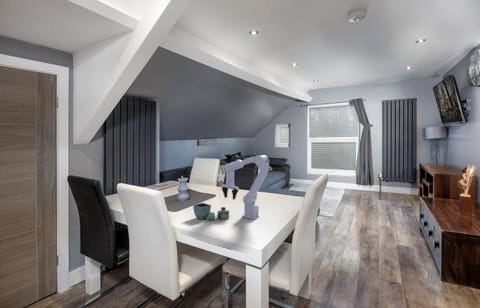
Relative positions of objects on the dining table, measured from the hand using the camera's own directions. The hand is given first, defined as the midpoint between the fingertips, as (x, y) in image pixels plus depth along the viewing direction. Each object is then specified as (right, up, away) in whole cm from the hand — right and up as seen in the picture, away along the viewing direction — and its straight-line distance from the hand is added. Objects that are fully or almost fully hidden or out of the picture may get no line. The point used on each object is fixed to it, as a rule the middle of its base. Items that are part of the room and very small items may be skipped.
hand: (229, 198), depth 172 cm
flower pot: (-18, -11, -12) cm, 25 cm away
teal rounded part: (-12, -11, -15) cm, 22 cm away
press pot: (-4, -11, -11) cm, 16 cm away
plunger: (-4, -10, -11) cm, 16 cm away
